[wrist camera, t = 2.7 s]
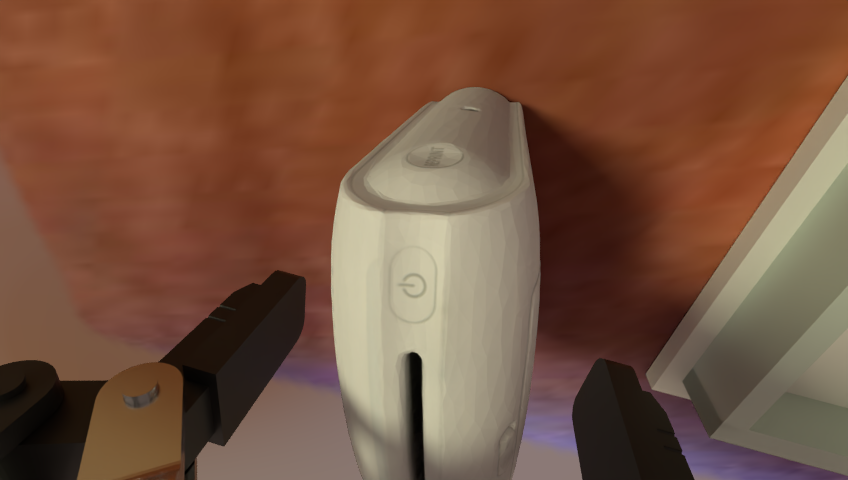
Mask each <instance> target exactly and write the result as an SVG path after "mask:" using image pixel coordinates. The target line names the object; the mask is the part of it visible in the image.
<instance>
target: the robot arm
mask: <svg viewBox="0 0 848 480" xmlns="http://www.w3.org/2000/svg"><path fill="white" fill-rule="evenodd" d="M305 293H306V280H305V278H304V277H302V276H298V275H294V274H290V273H287V272H283V271H279V270H277V271H275V272H274V273H272V274H271V275H270V276H269V277H268V278H267V279H266V280H265V281H264V282H263V283H262V285H258V284H255V283H252V284H250V285H247V286H245V287H243V288H241V289H239V290H237V291H235V292H233V293H232V294H231V295H230V296H229V297H228V298H227V299H226V300H225V301H224V302H223V303H222V304H220V307H217V308H216V309H215V310H214V311H213V312H212V313H211V314H210V315H209V317H208V318H205V319H204V320H203V321H202V322H201V323H200V324H199V325H198V326H197V327H196V328H195V329H194V330H193V331H191V332H190V333H189V334H188V335H187V336H186V337H185V338H184V339H183V340H182V341H181V342H180V343H179V344H177V345H176V346H175V347H174V348H173V349H172V350H171V351H170V352H169V353H168V354H167V355H166V356H165V357H164V358H162V359H161V360H160V361H159V362H152V363H144V364H140V365H137V366H133V367H130V368H128V369H126V370H124V371H122V372H120V373H118V374H117V375H115V376H114V377H113V378H111V379H110V380H107V381H60V380H59V378H58V375H57V373H56V370H55V368H54V367H53V366H52V365H50V364H48V363H46V362H43V361H37V360H26V361H18V362H12V363H8V364H4V365H2V366H0V480H197V456H198V454H199V453H200V452H201V450H202V449H203V448H204V446H205V445H206V443H207V442H211V443H215V444H217V445H221V446H225V445H226V443H227V442H228V440H229V439H230V437H231V436H232V434H233V433H234V432H235V430H236V429H237V427H238V426H239V424H240V423H241V421H242V420H243V418H244V417H245V416H246V414H247V413H248V411H249V410H250V408H251V407H252V406H253V404H254V402H255V401H256V400H257V398H258V397H259V395H260V394H261V392H262V391H263V390H264V388H265V387H266V385H267V384H268V382H269V381H270V380H271V378H272V377H273V375H274V374H275V372H276V371H277V369H278V368H279V367H280V365H281V364H282V362H283V361H284V359H285V358H286V356H287V355H288V354H289V352H290V351H291V349H292V348H293V346H294V345H295V343H296V342H297V340H298V338H299V336H300V334H301V332H302V329H303V325H304V317H305ZM572 420H573V426H574V432H575V438H576V444H577V450H578V456H579V462H580V467H581V473H582V479H583V480H694V478H693V475H692V473H691V470H690V468H689V466H688V463H687V461H686V459H685V456H684V455H682V449H681V447H680V445H679V442H678V440H677V437H674V434H675V433H674V430H673V428H672V426H671V423H670V421H669V419H668V416H667V414H666V412H665V411H664V409H663V408H662V407H661V406H660V404H659V403H658V402H657V401H656V399H655V398H654V397H653V396H652V394H651V393H649V392H646V391H642V389H641V386H640V384H639V381H638V378H637V376H636V373H635V371H634V369H633V368H632V367H631V366H628V365H625V364H621V363H617V362H614V361H610V360H606V359H602V358H599V359H598V360H597V361H596V362H595V363H594V365H593V367H592V369H591V370H590V372H589V374H588V376H587V378H586V379H585V381H584V383H583V385H582V387H581V388H580V390H579V392H578V394H577V396H576V398H575V401H574V405H573V412H572Z"/></svg>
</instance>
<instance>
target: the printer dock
mask: <svg viewBox="0 0 848 480" xmlns="http://www.w3.org/2000/svg"><path fill="white" fill-rule="evenodd" d="M646 376H647V379H648V381H649V384H650V387H651V389H652V390H656V391H660V392H663V393H667V394H671V395H674V396H678V397H682V398H686V399H689V400H691V401H692V403H693V405H694V407H695V409H696V411H697V413H698V415H699V417H700V419H701V421H702V423H703V425H704V427H705V429H706V432H707V434H708V436H709V438H713V439H716V440H720V441H723V442H727V443H731V444H734V445H738V446H742V447H745V448H749V449H752V450H756V451H760V452H763V453H767V454H770V455H774V456H778V457H781V458H785V459H789V460H792V461H796V462H799V463H803V464H807V465H810V466H814V467H817V468H821V469H825V470H828V471H832V472H836V473H839V474H843V475H846V476H848V76H847V78H846V79H845V81H844V82H843V84H842V85H841V86H840V88H839V89H838V91H837V92H836V94H835V95H834V97H833V98H832V100H831V101H830V103H829V104H828V106H827V107H826V109H825V110H824V112H823V113H822V115H821V116H820V117H819V119H818V120H817V122H816V123H815V125H814V126H813V128H812V129H811V131H810V132H809V134H808V135H807V137H806V138H805V140H804V141H803V143H802V144H801V145H800V147H799V148H798V150H797V151H796V153H795V154H794V156H793V157H792V159H791V160H790V162H789V163H788V165H787V166H786V168H785V169H784V171H783V172H782V174H781V175H780V176H779V178H778V179H777V181H776V182H775V184H774V185H773V187H772V188H771V190H770V191H769V193H768V194H767V196H766V197H765V199H764V200H763V202H762V203H761V204H760V206H759V207H758V209H757V210H756V212H755V213H754V215H753V216H752V218H751V219H750V221H749V222H748V224H747V225H746V227H745V228H744V230H743V231H742V233H741V234H740V235H739V237H738V238H737V240H736V241H735V243H734V244H733V246H732V247H731V249H730V250H729V252H728V253H727V255H726V256H725V258H724V259H723V261H722V262H721V263H720V265H719V266H718V268H717V269H716V271H715V272H714V274H713V275H712V277H711V278H710V280H709V281H708V283H707V284H706V286H705V287H704V289H703V290H702V292H701V293H700V294H699V296H698V297H697V299H696V300H695V302H694V303H693V305H692V306H691V308H690V309H689V311H688V312H687V314H686V315H685V317H684V318H683V320H682V321H681V322H680V324H679V325H678V327H677V328H676V330H675V331H674V333H673V334H672V336H671V337H670V339H669V340H668V342H667V343H666V345H665V346H664V348H663V349H662V350H661V352H660V353H659V355H658V356H657V358H656V359H655V361H654V362H653V364H652V365H651V367H650V368H649V370H648V371H647V373H646Z"/></svg>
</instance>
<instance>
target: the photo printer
mask: <svg viewBox="0 0 848 480" xmlns="http://www.w3.org/2000/svg"><path fill="white" fill-rule="evenodd" d="M540 276H541V273H540V232H539V217H538V207H537V199H536V193H535V187H534V181H533V175H532V169H531V162H530V156H529V150H528V144H527V138H526V131H525V124H524V116H523V110H522V106H521V104H520V103H519V102H508V100H507V99H506V98H505V97H503V96H502V95H500V94H499V93H497V92H495V91H493V90H490V89H486V88H480V87H469V88H464V89H460V90H457V91H455V92H453V93H451V94H450V95H448V96H447V97H445V98H444V99H443V100H442V101H440V102H434V101H432V102H430V103H428V104H426V105H425V106H423V107H422V108H421V109H420V110H418V112H416V113H415V114H414V115H413V116H412V117H410V118H409V119H408V120H407V121H406V122H405V123H404V124H402V125H401V126H400V127H399V128H398V129H396V130H395V131H394V132H393V133H392V134H391V135H390V136H388V137H387V138H386V139H385V140H383V141H382V142H381V143H380V144H379V145H378V146H377V147H376V148H374V149H373V150H372V151H371V152H370V153H369V154H368V155H367V156H365V157H364V158H363V159H362V160H361V161H360V162H359V163H357V164H356V165H355V166H354V167H353V168H351V169H350V170H349V171H348V173H347V174H346V175H345V177H344V178H343V180H342V182H341V185H340V190H339V195H338V200H337V206H336V212H335V218H334V225H333V237H332V252H331V295H332V313H333V327H334V340H335V351H336V360H337V368H338V375H339V382H340V389H341V396H342V401H343V407H344V413H345V418H346V423H347V428H348V433H349V436H350V440H351V444H352V447H353V451H354V454H355V458H356V462H357V465H358V468H359V471H360V473H361V476H362V478H363V480H512V477H513V473H514V470H515V466H516V462H517V457H518V453H519V448H520V444H521V439H522V434H523V429H524V424H525V419H526V412H527V406H528V401H529V394H530V387H531V379H532V371H533V364H534V354H535V347H536V336H537V325H538V314H539V300H540Z"/></svg>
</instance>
